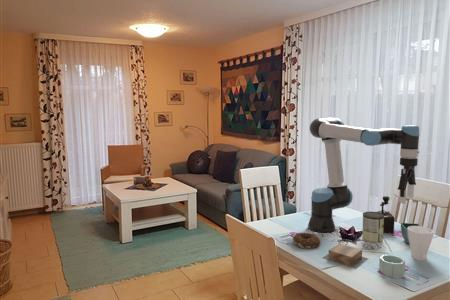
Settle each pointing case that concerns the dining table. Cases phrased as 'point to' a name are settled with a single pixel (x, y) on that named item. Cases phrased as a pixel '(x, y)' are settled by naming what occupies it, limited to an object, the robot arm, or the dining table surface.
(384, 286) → the dining table surface
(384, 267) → the bowl
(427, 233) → the cup
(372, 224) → the coffee can
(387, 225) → the coffee grinder
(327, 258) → the mat
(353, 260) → the board
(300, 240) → the donut
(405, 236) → the flower pot
